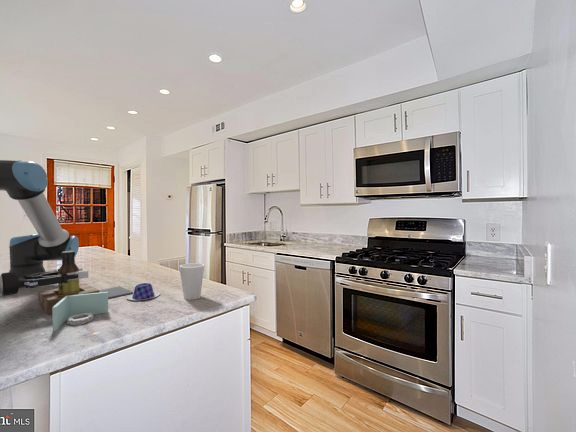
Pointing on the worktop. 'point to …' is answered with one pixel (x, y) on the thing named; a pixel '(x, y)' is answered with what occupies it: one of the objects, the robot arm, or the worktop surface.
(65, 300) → the mint folded panel
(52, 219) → the robot arm
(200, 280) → the foam cup
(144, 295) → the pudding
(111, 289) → the grey mat
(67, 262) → the sauce bottle
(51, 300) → the walnut collar
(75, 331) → the worktop surface
